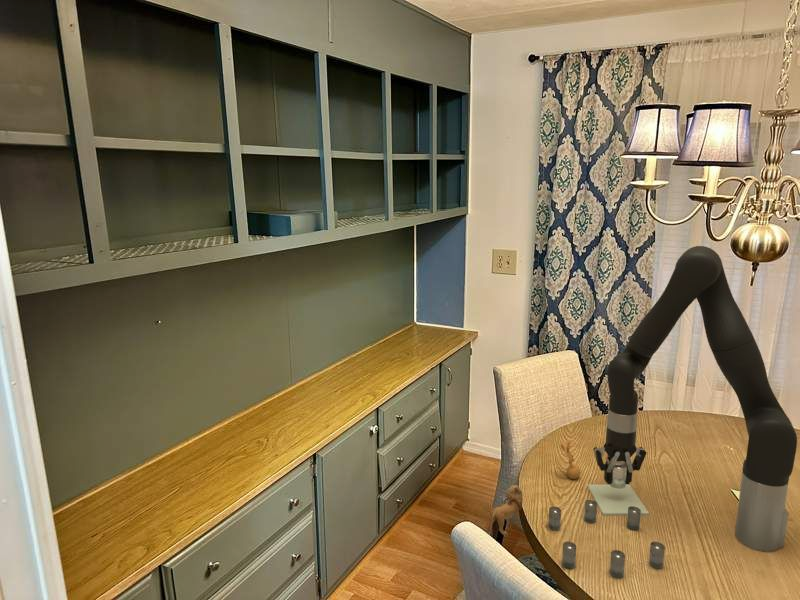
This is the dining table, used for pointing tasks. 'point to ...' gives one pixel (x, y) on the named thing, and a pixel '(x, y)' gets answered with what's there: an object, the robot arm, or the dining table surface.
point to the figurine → (572, 470)
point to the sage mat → (616, 499)
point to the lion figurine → (507, 509)
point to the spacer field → (616, 556)
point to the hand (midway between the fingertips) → (617, 482)
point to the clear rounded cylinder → (619, 475)
